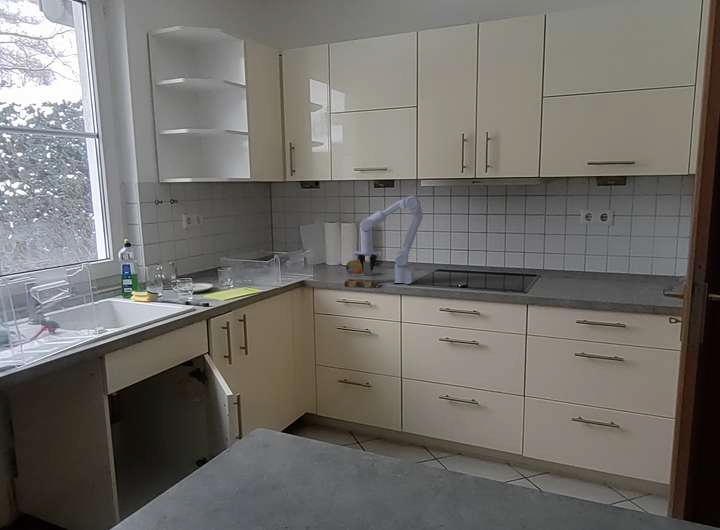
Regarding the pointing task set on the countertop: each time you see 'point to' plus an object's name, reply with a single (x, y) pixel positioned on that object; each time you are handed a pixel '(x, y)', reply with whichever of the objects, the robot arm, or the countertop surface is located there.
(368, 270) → the plug
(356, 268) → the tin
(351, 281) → the brown flat block
